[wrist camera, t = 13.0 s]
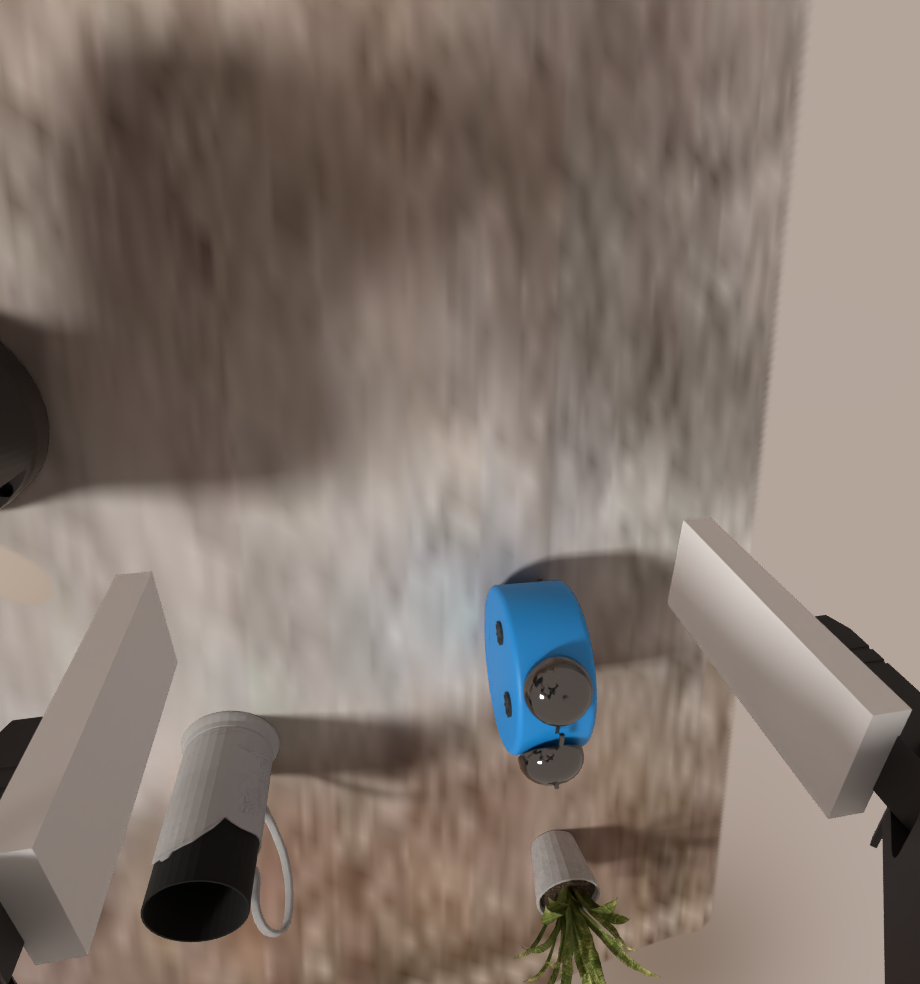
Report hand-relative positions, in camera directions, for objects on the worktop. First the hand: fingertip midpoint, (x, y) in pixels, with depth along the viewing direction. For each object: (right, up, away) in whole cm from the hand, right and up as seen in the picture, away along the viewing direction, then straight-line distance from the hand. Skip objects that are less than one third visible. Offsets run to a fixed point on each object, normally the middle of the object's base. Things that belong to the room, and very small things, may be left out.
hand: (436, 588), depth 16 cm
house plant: (+10, -38, +57) cm, 70 cm away
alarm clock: (+5, -8, +41) cm, 42 cm away
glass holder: (-19, -23, +44) cm, 54 cm away
